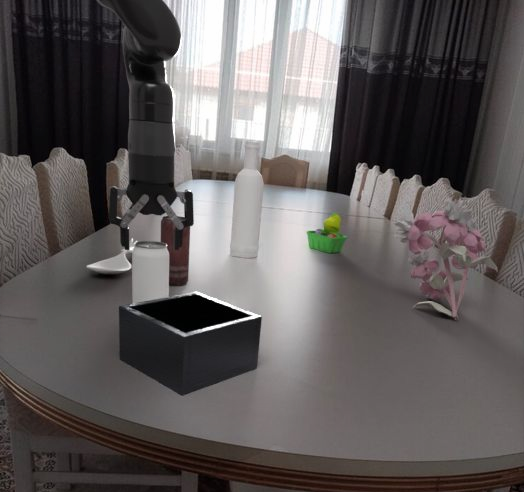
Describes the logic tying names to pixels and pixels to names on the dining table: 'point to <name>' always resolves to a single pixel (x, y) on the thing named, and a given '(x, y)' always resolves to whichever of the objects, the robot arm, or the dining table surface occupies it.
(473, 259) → the flower
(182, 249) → the can
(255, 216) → the bottle
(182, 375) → the basin
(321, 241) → the green easter basket
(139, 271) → the can
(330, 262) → the dining table surface
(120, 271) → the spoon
